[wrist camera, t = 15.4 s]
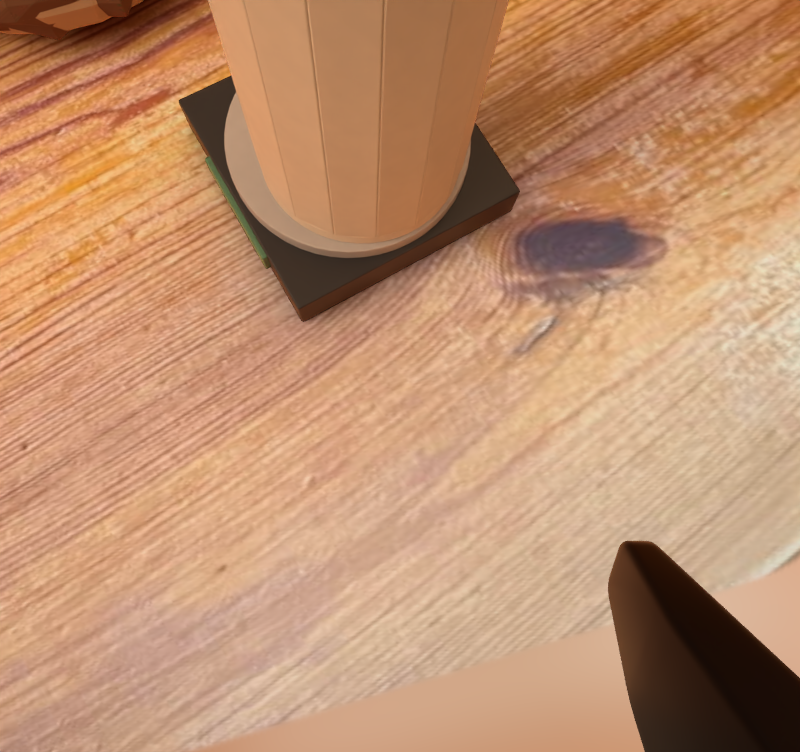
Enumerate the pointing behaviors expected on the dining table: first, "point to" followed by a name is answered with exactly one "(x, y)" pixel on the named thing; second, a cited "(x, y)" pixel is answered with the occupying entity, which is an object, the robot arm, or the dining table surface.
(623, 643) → the robot arm
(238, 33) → the canister
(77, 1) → the donut
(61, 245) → the dining table surface
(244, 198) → the scale
